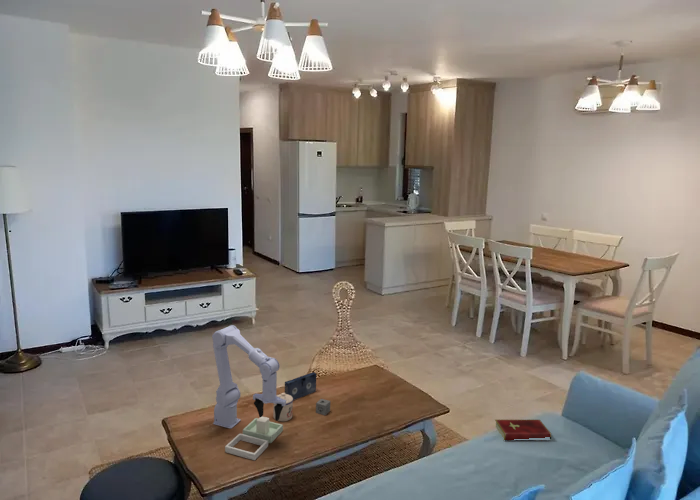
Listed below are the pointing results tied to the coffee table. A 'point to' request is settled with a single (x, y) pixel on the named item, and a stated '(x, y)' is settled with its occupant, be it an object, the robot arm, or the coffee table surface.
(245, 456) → the bin
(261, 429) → the cream block
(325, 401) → the dice cube
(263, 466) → the coffee table surface
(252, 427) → the green bin
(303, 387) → the vhs cassette tape
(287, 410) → the teacup with lid
